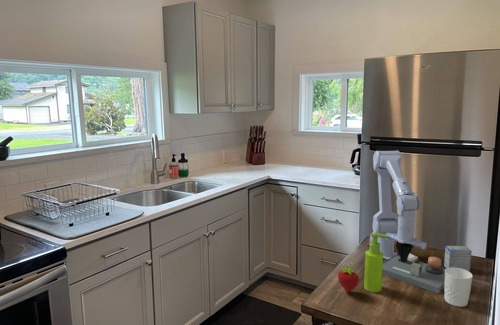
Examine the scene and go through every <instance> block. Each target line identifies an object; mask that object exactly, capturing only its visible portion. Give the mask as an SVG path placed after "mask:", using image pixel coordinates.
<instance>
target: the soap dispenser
mask: <svg viewBox="0 0 500 325" xmlns="http://www.w3.org/2000/svg"><path fill="white" fill-rule="evenodd" d="M370 236H371V237H373V239H372V242H370V241H369V245H370V248H369V249H368V250H365V255H364V257H365V258H364V259H365V260H364V276H363V278H364V279H363V280H364V282H363V288H364V290H366V291H367V292H370V293H380V292H381V291H382V288H383V287H382V286H383V274H382V271H383V264H384V258H383V253H382V252H381V251H380V243H378V237H384V238H387V237H388V236H387V235H385V234H381V233H373V232H371V233H370Z"/></svg>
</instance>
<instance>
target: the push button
mask: <svg viewBox="0 0 500 325" xmlns="http://www.w3.org/2000/svg"><path fill="white" fill-rule="evenodd" d="M427 258H428V261H427V264H428V265H429V266H430V267H434V268H440V267H441V268H442V258H440V257H438V256H437V257H436V256H429V257H427Z"/></svg>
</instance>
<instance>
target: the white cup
mask: <svg viewBox="0 0 500 325" xmlns="http://www.w3.org/2000/svg"><path fill="white" fill-rule="evenodd" d="M473 276H474V275H473V274H472V272H470V271H467V270H464V269H460V268H447V269H446V268H445V282H444V286H445V287H444V288H443V290H444V296H443V297H444V301H445V302H446V303H448V304H449V305H452V306H455V307H459V308H460V307H461V308H463V307H466V306H468V304H469V299H470V296H471V295H470V294H471V288H472V282H473Z"/></svg>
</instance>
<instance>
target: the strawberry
mask: <svg viewBox="0 0 500 325" xmlns="http://www.w3.org/2000/svg"><path fill="white" fill-rule="evenodd" d="M337 279H338V282H339V285H341V287H342V288H343V289H344V291H345V292H346V293H350V292H352V291H353V290H355V288H356V287H357V286H358V284H359V281H360V278H359V275H358V274H357V273H356V272H355V270H353V269H352V267H350V268H348V267H346V268H345V267H342V270H340V271H338V274H337Z"/></svg>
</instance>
